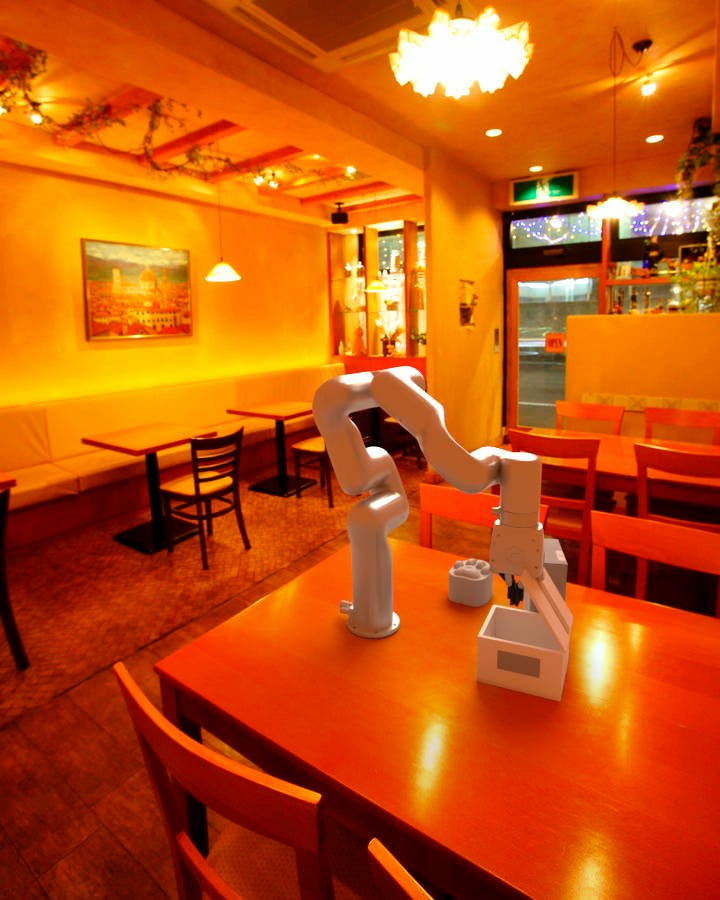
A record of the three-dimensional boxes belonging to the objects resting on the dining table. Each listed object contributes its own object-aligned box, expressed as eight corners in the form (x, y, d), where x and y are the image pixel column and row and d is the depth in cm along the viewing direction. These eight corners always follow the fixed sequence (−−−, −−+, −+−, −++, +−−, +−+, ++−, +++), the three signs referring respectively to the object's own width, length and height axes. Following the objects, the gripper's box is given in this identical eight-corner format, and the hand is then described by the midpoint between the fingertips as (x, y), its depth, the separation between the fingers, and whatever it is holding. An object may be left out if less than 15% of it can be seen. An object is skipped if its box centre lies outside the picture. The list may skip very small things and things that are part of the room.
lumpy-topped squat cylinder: (444, 599, 149) (444, 568, 147) (462, 580, 159) (462, 551, 158) (482, 609, 143) (483, 577, 141) (498, 588, 154) (499, 558, 152)
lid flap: (518, 578, 106) (522, 576, 106) (531, 550, 119) (534, 549, 118) (563, 653, 106) (566, 652, 105) (570, 617, 118) (574, 616, 118)
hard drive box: (563, 649, 125) (568, 565, 120) (527, 646, 126) (530, 563, 122) (554, 614, 140) (558, 537, 135) (521, 612, 141) (524, 536, 137)
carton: (476, 681, 115) (477, 636, 112) (492, 645, 127) (493, 604, 125) (560, 701, 108) (563, 654, 106) (568, 661, 120) (570, 618, 118)
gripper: (476, 517, 111) (473, 604, 115) (556, 528, 105) (551, 619, 109) (485, 506, 118) (482, 588, 122) (561, 515, 111) (556, 601, 115)
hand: (515, 602), depth 115 cm, fingers closed
